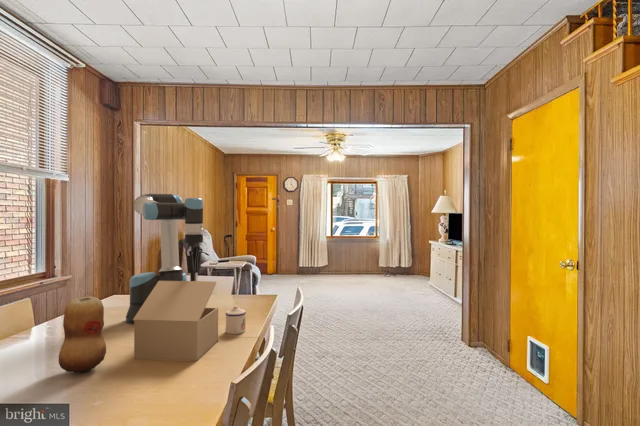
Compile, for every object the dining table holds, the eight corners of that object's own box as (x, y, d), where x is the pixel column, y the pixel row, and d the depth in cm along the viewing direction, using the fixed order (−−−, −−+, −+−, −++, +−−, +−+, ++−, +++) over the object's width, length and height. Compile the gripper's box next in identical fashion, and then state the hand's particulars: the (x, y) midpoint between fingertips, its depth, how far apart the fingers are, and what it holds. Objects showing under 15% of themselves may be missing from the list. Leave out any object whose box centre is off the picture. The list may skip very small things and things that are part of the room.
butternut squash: (71, 383, 121) (71, 304, 122) (51, 374, 129) (51, 299, 129) (114, 368, 133) (114, 296, 133) (93, 360, 140) (94, 292, 140)
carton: (134, 359, 142) (134, 321, 142) (163, 339, 164) (163, 306, 164) (197, 361, 140) (197, 322, 140) (218, 341, 162) (218, 307, 162)
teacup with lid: (245, 334, 172) (245, 308, 172) (224, 335, 170) (224, 308, 170) (245, 326, 183) (245, 301, 183) (226, 327, 182) (226, 302, 182)
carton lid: (133, 321, 142) (132, 319, 142) (159, 282, 161) (158, 280, 161) (198, 322, 140) (197, 321, 140) (216, 283, 159) (216, 281, 159)
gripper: (196, 234, 160) (196, 291, 159) (207, 232, 173) (207, 285, 172) (178, 234, 160) (178, 291, 160) (191, 232, 173) (191, 285, 173)
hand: (193, 288), depth 166 cm, fingers closed
